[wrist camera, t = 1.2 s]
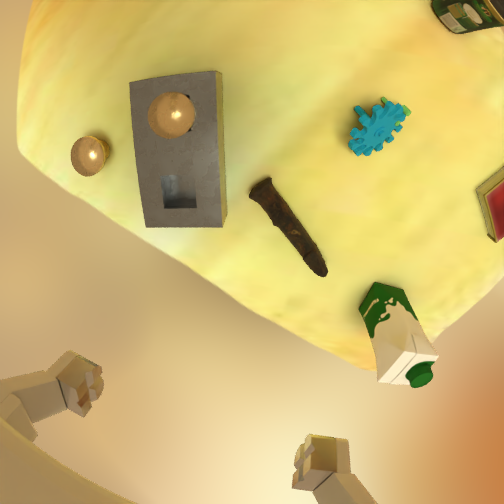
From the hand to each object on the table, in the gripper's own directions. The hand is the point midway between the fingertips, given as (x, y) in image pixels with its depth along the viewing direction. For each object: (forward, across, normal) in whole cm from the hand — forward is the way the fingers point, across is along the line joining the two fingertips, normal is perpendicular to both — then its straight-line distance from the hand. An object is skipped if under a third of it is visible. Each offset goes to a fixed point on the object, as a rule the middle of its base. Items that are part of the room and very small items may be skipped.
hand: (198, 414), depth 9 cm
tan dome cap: (+34, +30, -4) cm, 46 cm away
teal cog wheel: (+38, -10, -17) cm, 43 cm away
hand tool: (+40, -4, +2) cm, 41 cm away
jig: (+36, +16, -6) cm, 40 cm away
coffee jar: (+35, -20, -43) cm, 59 cm away
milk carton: (+45, -24, +12) cm, 52 cm away
